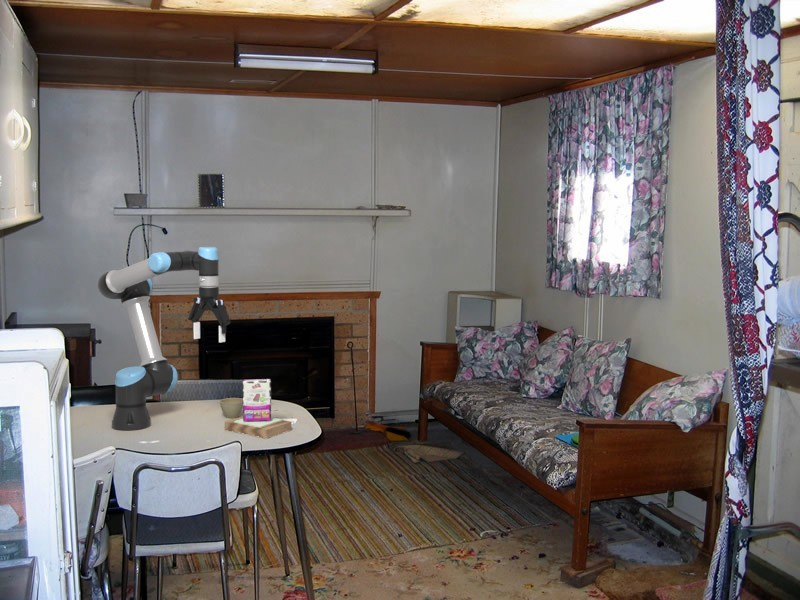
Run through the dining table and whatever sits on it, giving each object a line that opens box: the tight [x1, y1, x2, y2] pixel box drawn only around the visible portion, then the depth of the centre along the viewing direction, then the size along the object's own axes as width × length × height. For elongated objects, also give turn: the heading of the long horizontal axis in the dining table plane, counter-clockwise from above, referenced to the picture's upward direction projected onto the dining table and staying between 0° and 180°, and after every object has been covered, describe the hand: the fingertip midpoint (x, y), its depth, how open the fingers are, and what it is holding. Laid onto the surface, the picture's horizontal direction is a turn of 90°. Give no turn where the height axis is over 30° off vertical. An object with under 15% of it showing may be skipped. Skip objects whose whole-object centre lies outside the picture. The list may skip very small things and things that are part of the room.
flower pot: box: [219, 397, 243, 419], centre depth 360 cm, size 10×10×7 cm
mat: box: [234, 417, 283, 428], centre depth 340 cm, size 14×13×1 cm
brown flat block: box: [224, 415, 292, 439], centre depth 341 cm, size 22×15×4 cm
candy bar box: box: [242, 378, 272, 422], centre depth 340 cm, size 11×5×16 cm, turn 98°
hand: (209, 340), depth 333 cm, fingers open, 13 cm apart
